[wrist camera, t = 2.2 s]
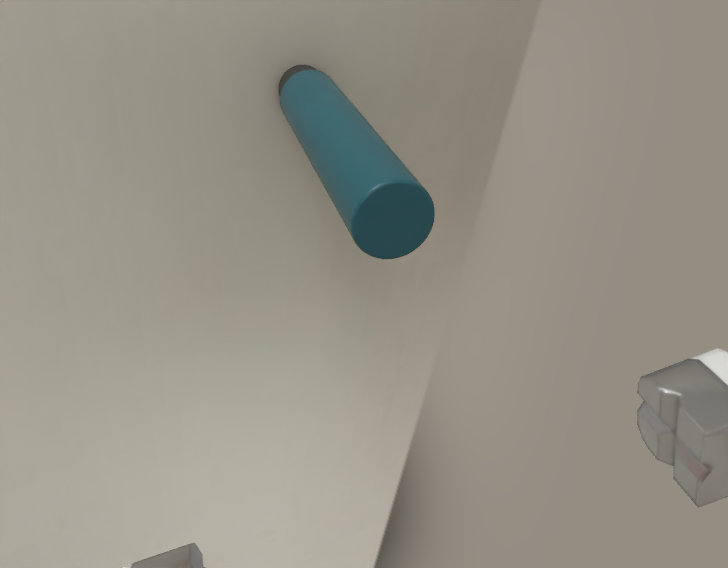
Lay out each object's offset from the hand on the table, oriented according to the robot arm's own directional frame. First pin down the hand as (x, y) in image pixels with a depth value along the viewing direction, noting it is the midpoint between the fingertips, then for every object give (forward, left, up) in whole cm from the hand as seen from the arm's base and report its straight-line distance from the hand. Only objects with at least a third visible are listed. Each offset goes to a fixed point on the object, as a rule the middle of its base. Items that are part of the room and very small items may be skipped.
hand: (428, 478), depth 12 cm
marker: (-2, 0, -21) cm, 21 cm away
